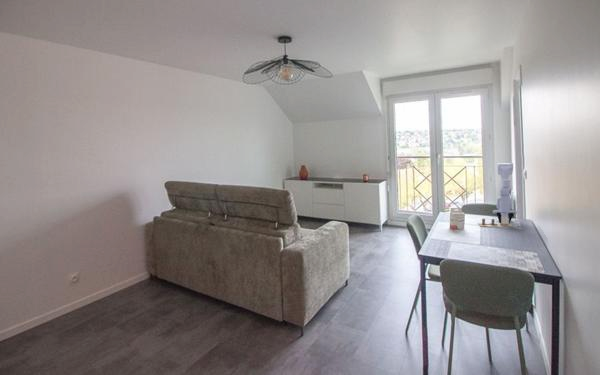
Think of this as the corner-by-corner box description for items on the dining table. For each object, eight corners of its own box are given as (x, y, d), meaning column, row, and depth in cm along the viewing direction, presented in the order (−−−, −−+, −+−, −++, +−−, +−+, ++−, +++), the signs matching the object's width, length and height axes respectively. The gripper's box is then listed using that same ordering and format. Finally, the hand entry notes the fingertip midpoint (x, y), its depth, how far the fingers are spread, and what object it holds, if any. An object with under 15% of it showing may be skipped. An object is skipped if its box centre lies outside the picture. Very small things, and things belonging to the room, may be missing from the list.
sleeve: (498, 224, 238) (498, 217, 237) (504, 223, 239) (505, 217, 238) (503, 225, 233) (504, 219, 232) (510, 225, 234) (510, 218, 233)
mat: (495, 223, 242) (495, 222, 242) (509, 223, 239) (509, 223, 239) (498, 226, 234) (498, 225, 234) (513, 226, 231) (513, 226, 231)
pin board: (477, 223, 243) (477, 217, 243) (495, 224, 239) (496, 217, 239) (480, 227, 234) (480, 220, 233) (499, 227, 230) (499, 220, 229)
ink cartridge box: (452, 229, 230) (452, 209, 229) (449, 227, 235) (449, 207, 233) (464, 229, 230) (465, 209, 228) (461, 227, 234) (462, 207, 233)
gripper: (495, 205, 233) (494, 224, 234) (518, 205, 228) (517, 224, 230) (492, 203, 239) (492, 221, 241) (515, 204, 235) (514, 222, 236)
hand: (504, 223), depth 236 cm, fingers closed on sleeve, 5 cm apart
